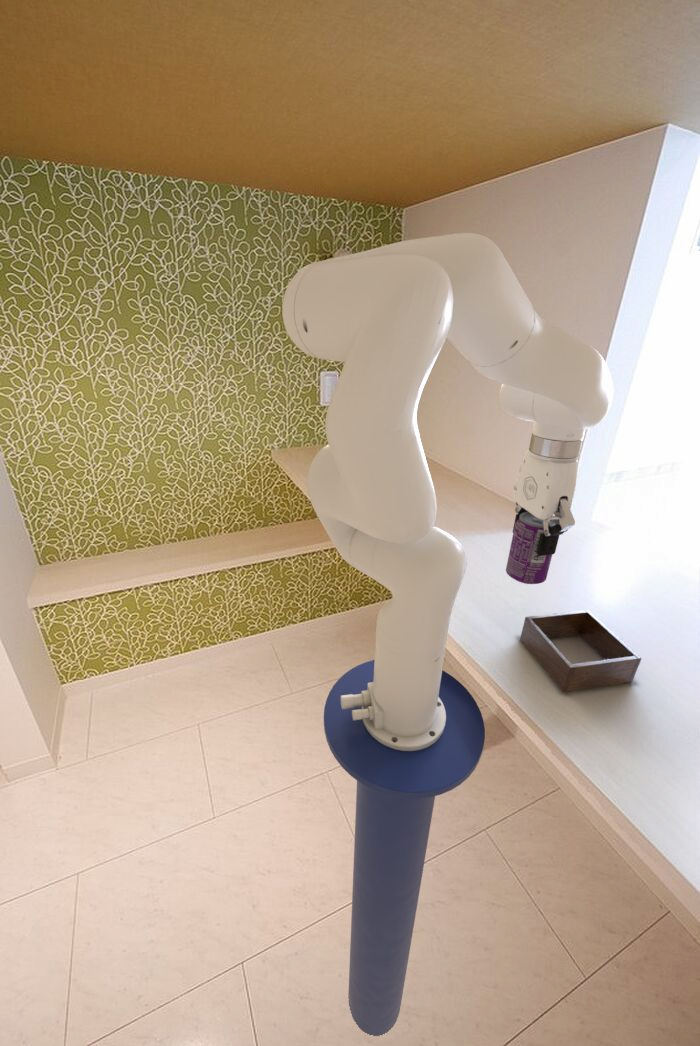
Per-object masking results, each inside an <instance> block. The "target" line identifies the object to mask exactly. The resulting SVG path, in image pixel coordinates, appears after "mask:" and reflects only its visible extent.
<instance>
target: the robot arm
mask: <svg viewBox="0 0 700 1046" xmlns="http://www.w3.org/2000/svg"><path fill="white" fill-rule="evenodd" d="M281 306H282V308H281V309H282V310H281V313H282V320H283V321H282V322H283V325H284V328H285V331H286V334H287V335H288V337H289V339H290V340H291V342H293V344H294V345H295V346H296V347H297V349H299V350H300V351H302V352H303V353H304V354H306V355H308V356H310V357H312V358H316V359H319V360H324V361H330V362H331V361H332V362H339V363H344V364H343V366H342V370H341V371H340V374H339V377H338V379H337V382H336V384H335V387H334V390H333V393H332V395H331V398H330V400H329V403H328V406H327V409H326V414H325V422H324V427H325V436H326V441H327V444H326V445H325V446H324V447H322V448H321V449H320V450H319V451H318V452H317V453H316V455H315V456H314V458H313V459H312V462H311V463H310V466H309V469H308V473H307V494H308V499H309V501H310V504H311V507H312V508H313V510H314V512H315V515H316V516H317V518H318V520H319V521H320V523H321V525H322V527H323V529H324V531H325V532H326V534H327V536H328V537H329V539H330V541H331V543H332V545H333V546H334V548H335V549H336V551H337V552H338V554H339V555H340V556H341V558H342V560H344V561H345V562H346V563H347V564H349V565H350V566H351V567H353V568H354V569H356V570H357V571H359V572H361V573H362V574H364V575H366V576H368V577H369V578H371V579H373V580H374V581H376V582H377V583H378V584H380V585H381V586H383V587H384V588H386V589H387V590H388V591H390V593H391V596H392V597H391V598H390V599H389V600H387V601H386V602H384V604H383V605H382V606H381V607H380V609H379V611H378V613H377V617H376V623H375V624H376V625H375V643H374V645H375V646H374V660H375V662H374V679H373V682H370V683H368V687H367V690H365V691H361V694H356V695H353V694H350V695H342V696H341V707H342V709H349V708H354V707H359V706H362V710H361V709H358V710H352V718H353V721H354V720H361V719H363V723H364V725H365V727H366V729H367V730H368V732H369V733H370V734H371V735H372V736H373V737H374V738H375V739H376V740H377V741H378V742H380V743H382V744H383V745H385V746H387V747H390V748H393V749H396V750H401V751H416V750H421V749H424V748H427V747H429V746H430V745H432V744H434V743H435V742H436V741H437V740H438V739H439V738H440V736H441V735H442V733H443V731H444V728H445V722H446V711H445V708H444V705H443V703H442V701H441V699H440V698H439V697H438V696H439V689H440V682H441V675H442V670H443V668H444V661H445V654H446V647H447V640H448V633H449V628H450V623H451V621H450V620H451V618H452V617H451V616H452V611H453V607H454V605H455V601H456V599H457V596H458V593H459V591H460V587H461V585H462V582H463V580H464V577H465V574H466V571H467V565H468V558H467V554H466V551H465V549H464V547H463V546H462V544H461V543H460V542H459V541H458V540H457V539H456V538H455V537H454V536H453V535H451V534H450V533H448V532H447V531H445V530H444V529H441V528H439V527H437V526H435V525H434V524H435V522H436V519H437V515H438V514H437V513H438V508H437V507H438V505H437V495H436V490H435V486H434V483H433V480H432V476H431V472H430V469H429V466H428V465H429V464H428V462H427V458H426V454H425V451H424V448H423V444H422V441H421V436H420V431H419V427H418V419H417V413H418V406H419V403H420V399H421V396H422V393H423V390H424V387H425V385H426V382H427V381H428V378H429V375H430V374H431V372H432V369H433V367H434V364H435V362H436V360H437V358H438V356H439V354H440V352H441V350H442V348H443V346H444V344H445V342H446V340H448V341H449V343H450V344H451V345H452V346H453V347H454V348H455V349H456V350H457V351H458V352H459V353H460V354H461V356H463V357H464V359H465V360H466V361H467V362H468V363H469V364H470V365H471V366H472V368H473V369H474V370H475V371H476V372H477V373H478V374H480V375H481V376H483V377H485V378H487V379H488V380H491V381H494V382H497V383H498V384H501V385H500V389H499V393H498V394H499V395H498V399H499V404H500V407H501V409H502V410H503V411H504V412H505V414H507V415H509V416H511V417H513V418H515V419H519V420H523V421H529V422H533V426H532V431H531V436H530V441H529V445H528V448H526V451H525V453H524V455H523V458H522V461H521V464H520V466H519V470H518V474H517V478H516V481H515V485H514V486H513V500H514V501H515V505H516V506H515V508H514V512H515V518H514V521H513V522H514V523H513V528H512V533H513V532H514V527H515V523H516V522H517V521H518V520H519V517H520V514H521V513H523V512H529V513H531V514H532V515H534V516H535V517H536V518H538V519H540V520H543V528H544V533H541V535H540V539H539V543H538V547H537V552H536V553H537V554H538V555H539V556H541V555H552V556H553V555H554V554H555V553H556V550H557V547H558V543H559V539H560V536H562V535H563V534H564V533H566V532H568V530H570V529H571V528H572V527H573V526H575V525H576V521H575V518H574V516H573V513H572V510H571V509H572V505H573V501H574V496H575V491H576V485H577V478H578V468H579V467H578V465H579V461H578V459H579V456H580V452H581V448H582V444H583V440H584V437H585V433H586V430H589V429H592V428H594V427H596V426H597V425H599V424H600V423H601V422H602V421H603V420H604V419H605V418H606V416H607V414H608V412H609V411H610V408H611V405H612V402H613V394H614V388H613V387H614V385H613V381H612V376H611V373H610V371H609V368H608V366H607V363H606V361H605V359H604V357H603V356H602V355H601V353H600V352H599V350H597V349H596V348H595V347H594V346H592V345H591V344H589V343H588V342H586V341H584V340H583V339H581V338H580V337H578V336H576V335H574V334H572V333H571V332H569V331H567V330H565V328H564V329H563V328H562V327H560V326H559V325H556V324H555V323H553V322H551V321H549V320H548V319H547V320H546V319H545V318H543V317H541V316H539V315H538V312H537V311H536V309H535V308H534V306H533V304H532V302H531V300H530V299H529V297H528V295H527V294H526V292H525V290H524V288H523V286H522V285H521V284H520V282H519V280H518V278H517V276H516V275H515V273H514V271H513V269H512V267H511V266H510V264H509V263H508V260H507V259H506V258H505V255H504V253H503V251H502V250H501V248H500V247H499V245H497V244H496V243H495V242H494V241H493V240H492V239H490V238H489V237H487V236H485V235H482V234H479V233H475V232H457V233H456V232H455V233H448V234H442V235H435V236H428V237H420V238H419V237H418V238H412V239H406V240H401V241H397V242H393V243H389V244H386V245H383V246H379V247H375V248H371V249H367V250H364V251H360V252H355V253H350V254H346V255H341V256H338V257H332V258H329V259H328V258H327V259H323V260H319V261H314V262H311V263H309V264H307V265H305V266H303V267H302V268H300V269H299V270H298V271H297V272H296V274H294V275H293V277H292V278H291V279H290V281H289V283H288V285H287V287H286V289H285V292H284V295H283V300H282V305H281ZM550 520H555V525H554V526H553V527H551V524H550Z"/></svg>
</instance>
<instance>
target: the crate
mask: <svg viewBox="0 0 700 1046" xmlns="http://www.w3.org/2000/svg"><path fill="white" fill-rule="evenodd" d="M579 635H580V636H581V637H582V638H583V639H584V640H585V641H587V643H588V644H589V645H590V646H592V648H593V649H594V650H595V651H596V652H597V653H598V654H599V655H600V656H601V657H602V658H603V659H601V660H593V661H586V662H579V663H571V662H570V661H569V660H568V659H567V657H566V656H565V655H564V654H563V653H562V652H561V651H560V650H559V648H557V646H556V645H555V644H554V643H553V642H552V641H551V639H554V638H555V639H556V638H562V637H570V636H579ZM519 639H520V641H521V642H522V644H523V645H524V646H525V647H526V648H527V650H528V652H530V653H531V655H532V656H533V658H534V659H535V660H536V661H537V662H538V663H539V665H540V666H541V667H542V669H543V670H544V671H545V672H546V673H547V675H548V677H549V678H550V679H551V680H552V681H553V682H554V684H555V685H556V686H557V687H558V688H559V690H560V691H561V692H562V693H568V692H574V691H580V690H581V691H582V690H589V689H595V688H602V687H609V686H615V685H623V684H628V683H633V681H634V679H635V676H636V674H637V671H638V670H639V669H638V668H639V666H640V664H641V661H642V657H641V656H640V655H638V653H637V652H635V651H634V650H633V649H632V648H631V647H630V646H629V645H628V644H626V642H624V641H623V640H622V639H621V638H620V637H619V636H618V635H616V634H615V632H613V630H611V629H610V628H609V627H608V626H607V625H606V624H605V623H603V622H602V621H601V619H599V618H598V617H597V616H596V615H594V614H593V613H592V612H591V611H590V609H584V610H574V611H568V612H567V611H566V612H558V613H549V614H548V613H547V614H539V615H528V616H525V617H524V621H523V625H522V630H521V634H520V638H519Z"/></svg>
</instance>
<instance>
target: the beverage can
mask: <svg viewBox="0 0 700 1046" xmlns="http://www.w3.org/2000/svg"><path fill="white" fill-rule="evenodd" d="M550 524H551V527H553V526H554V525H555V520H550ZM513 527H514V526H513ZM541 533H544V528H543V520H540V519H538V518H536V517H535V516H534V515H532V514H531V513H529V512H523V513H521V514H520V517H519V520H518V521H517V522H516V523H515V527H514V532H513V531H512V537H511V542H510V548H509V552H508V553H509V554H508V556H507V562H506V567H505V572H506V574H507V575H508V576H509V577H510V578H511V579H513V580H515V581H517V582H519V583H520V584H525V585H537V584H542V583H544V582H546V581H547V577H548V573H549V569H550V564H551V562H552V559H553V554H552V555H541V556H539V555H538V554H537V553H536V552H537V547H538V543H539V539H540V535H541Z"/></svg>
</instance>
